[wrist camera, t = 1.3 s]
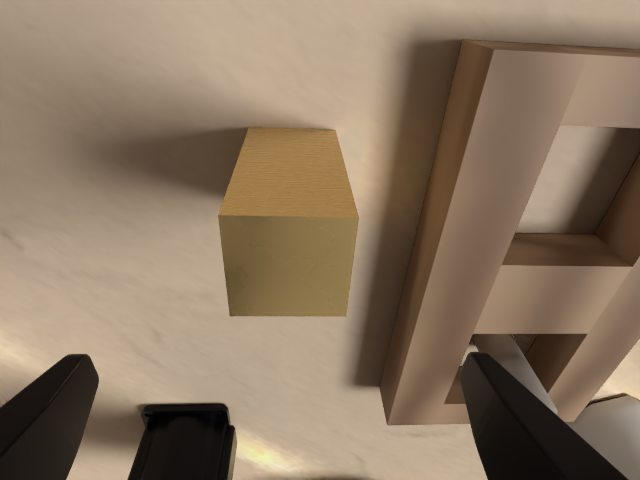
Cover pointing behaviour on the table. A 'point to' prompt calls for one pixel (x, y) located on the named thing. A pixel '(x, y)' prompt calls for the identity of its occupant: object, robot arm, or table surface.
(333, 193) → the peg
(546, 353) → the plate
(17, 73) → the table surface
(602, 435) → the flask
